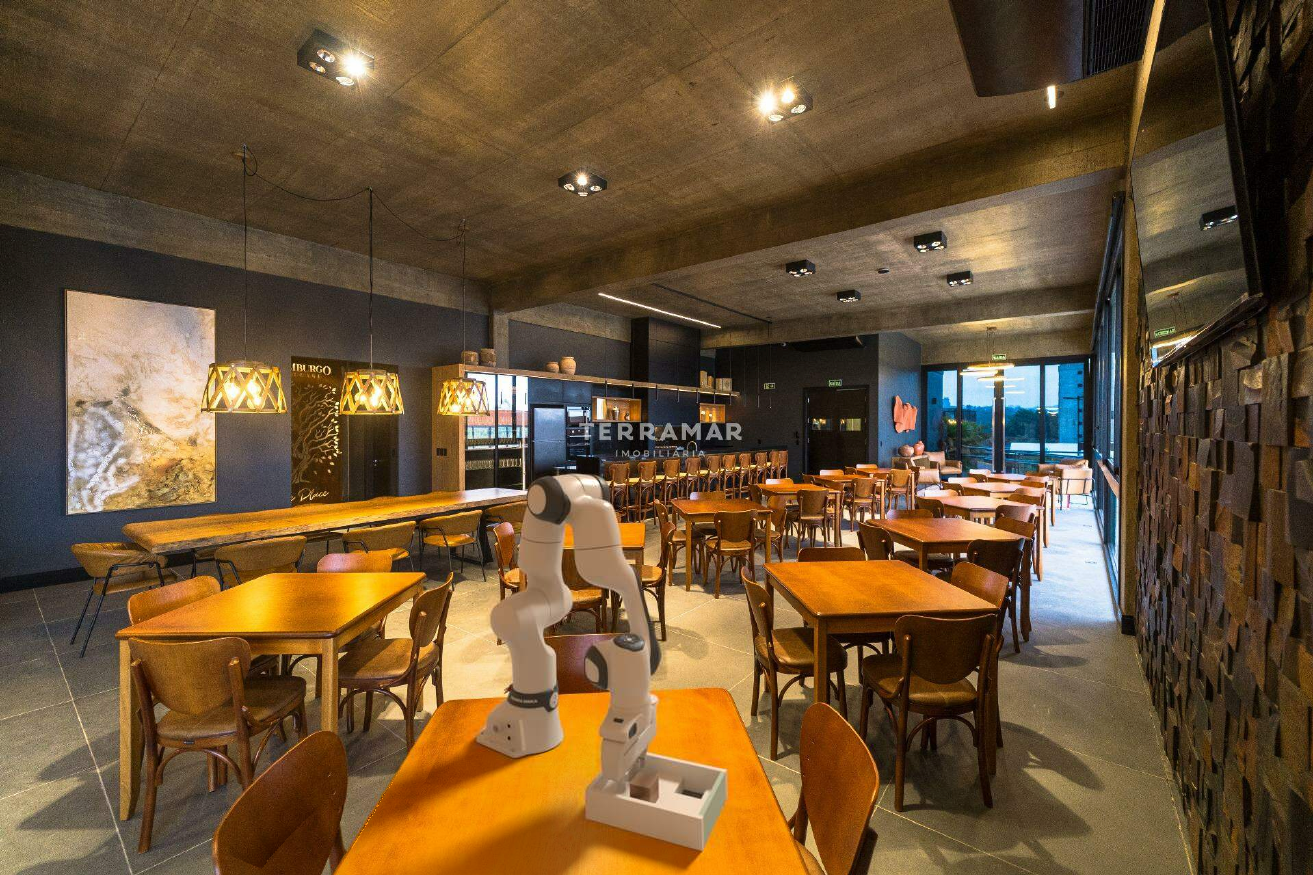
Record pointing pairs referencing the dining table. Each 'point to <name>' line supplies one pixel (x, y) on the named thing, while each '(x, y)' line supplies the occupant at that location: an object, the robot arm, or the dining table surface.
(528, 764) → the dining table surface
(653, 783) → the walnut block
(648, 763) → the box
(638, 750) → the robot arm
